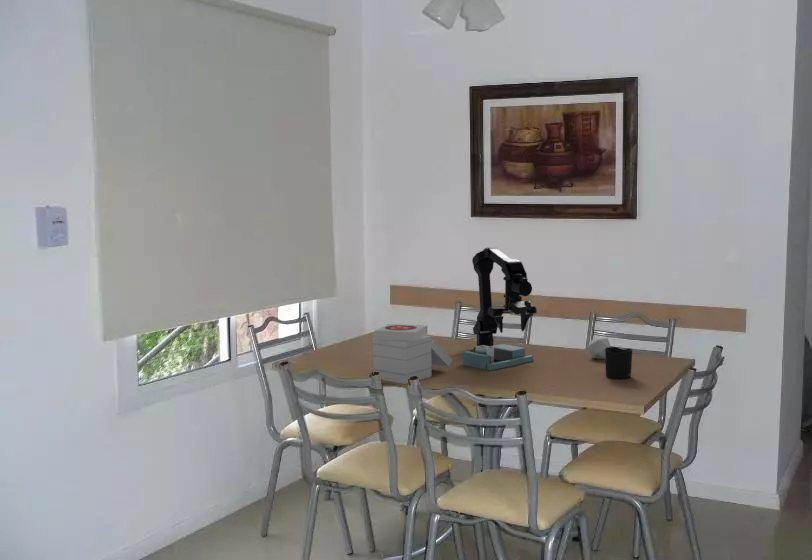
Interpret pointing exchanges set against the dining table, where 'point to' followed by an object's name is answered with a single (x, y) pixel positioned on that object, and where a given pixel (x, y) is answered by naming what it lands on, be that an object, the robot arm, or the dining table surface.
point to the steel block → (485, 351)
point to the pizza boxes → (406, 353)
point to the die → (598, 347)
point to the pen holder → (618, 363)
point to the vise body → (485, 361)
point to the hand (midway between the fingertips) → (512, 332)
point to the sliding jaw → (507, 352)
